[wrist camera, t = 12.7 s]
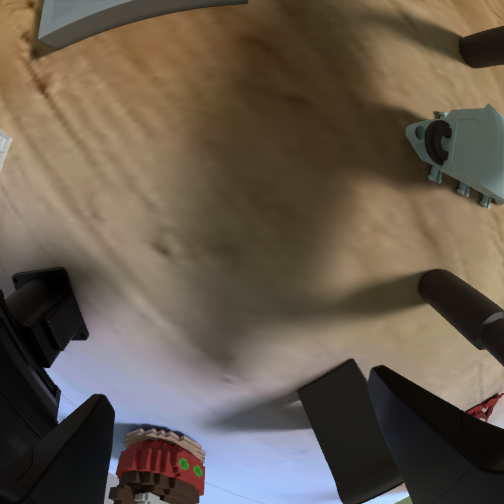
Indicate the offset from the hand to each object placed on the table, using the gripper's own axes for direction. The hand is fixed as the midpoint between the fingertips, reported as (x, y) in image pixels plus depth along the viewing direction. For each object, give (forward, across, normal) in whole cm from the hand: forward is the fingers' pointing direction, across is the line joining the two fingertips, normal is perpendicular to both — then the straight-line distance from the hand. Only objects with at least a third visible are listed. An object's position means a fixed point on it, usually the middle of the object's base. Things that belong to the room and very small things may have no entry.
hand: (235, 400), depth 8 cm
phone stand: (+12, -9, +16) cm, 22 cm away
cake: (+12, +11, +22) cm, 27 cm away
